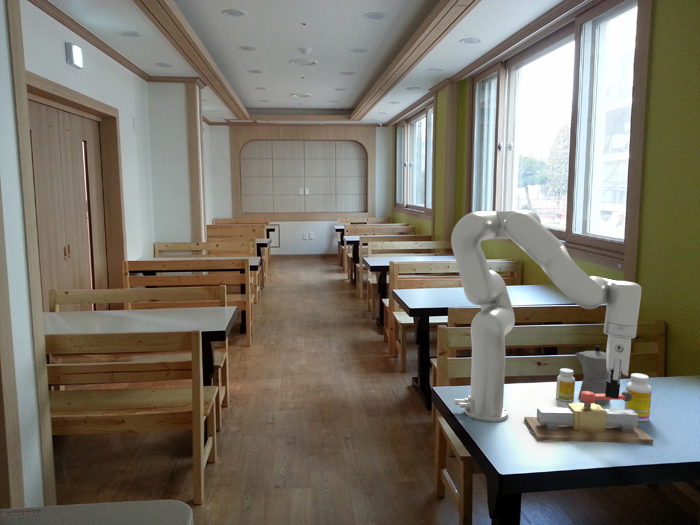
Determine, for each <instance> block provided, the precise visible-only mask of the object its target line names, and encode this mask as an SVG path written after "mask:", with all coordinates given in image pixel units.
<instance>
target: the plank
mask: <svg viewBox="0 0 700 525" xmlns="http://www.w3.org/2000/svg"><path fill="white" fill-rule="evenodd" d="M523 418H524V419H523V421H524V423H525V424H526V426H527V428H528V429H529V430H530V432H531V433H532V435H533V436H534V437H535V439H536V440H537V441H539V442H569V443H570V442H572V443H573V442H575V443H606V444H607V443H608V444H609V443H610V444H612V443H613V444H637V443H639V444H642V445H644V444H645V445H647V444H649V445H653V444H654V439H653V438H652V437H651V436H650V435H649V434H647V433H646V432H645V430H643V429H642V428H640V426H639V425H638V426H637V428H635V427H634V433H633V434H632V433H621V432H620V431H619V430H618V429H617V428H616V427H606V431H603V433H586V432H578V431H577V430H573V428H572V427H571V426H562V425H559V430H558V431H547V430H546V429H545V428H544V426H543V425H540V424H539V422H538V421H537V416H524V417H523Z"/></svg>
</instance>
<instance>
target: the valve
mask: <svg viewBox="0 0 700 525" xmlns="http://www.w3.org/2000/svg"><path fill="white" fill-rule="evenodd" d="M624 409H625V408H622V409H618V408H617V409H616V408H612V409H611V408H603V407H602V406H600V405H597V404H594V403H591V407H590V408H587V407H584V402H571V403H568V404H567V407H546V406H545V407H543V406H542V407H540V406H539V407H536V417H537V421H538V422H539V424H540V425H543V426H544V428H545V429H546V430H547V431H558V430H559V425H562V426H571V427H572V428H573V430H577V431H578V432H586V433H603V431H606V427H616V428H617V429H618V430H619V431H620V432H621V433H632V434H633V433H634V427H635V428H637V426H638V427H639V425H638V424H639V421H638V414H637V413H635V412H634V411H633V410H624Z"/></svg>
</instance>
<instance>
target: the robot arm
mask: <svg viewBox="0 0 700 525" xmlns="http://www.w3.org/2000/svg"><path fill="white" fill-rule="evenodd" d="M451 232H452V233H451V236H450V237H451V238H450V239H451V240H450V243H451V248H452V252H453V256H454V259H455V262H456V265H457V271H458V274H459V277H460V280H461V284H462V288H463V291H464V296H465V297H466V299H467V301H468V302H469V303H470V304H472V305H474V306H479V307H480V309H481V310H480V311H479V312H477V313H476V314H475V315H474V317H473V319H472V321H471V325H470V336H471V368H470V369H471V370H470V371H471V372H470V394H468V395H467V397H464V398H453V405H454V406H459V408H460V409H461V408H463V409H464V413H465V415H466V416H468V417H470V419H471V418H472V419H473V420H474V419H475V420H477V421H482V422H490V423H491V422H493V423H494V422H501V421H504V420H506V419H507V418H508V417H509V411H508V410H507V408H505V407H504V394H505V393H504V392H505V390H504V389H505V373H506V346H505V345H506V344H505V336H506V335H507V334H509V333H510V332H511V331H512V330H513V328H514V326H515V322H516V319H515V318H516V317H515V313H514V309H513V306H512V301H511V299H510V294H509V291H508V288H507V286H506V285H507V284H506V282H505V280H504V279H503V277H502V276H501V275H500V273H498V272H496V271H495V270H490V268H489V265H488V261H487V258H486V255H485V252H484V251H483V249H482V245H481V244H482V243H481V242H483V241H488V240H511V241H512V242H513V243H515V245H517V246H518V248H520V249H521V250H522V251H523V252H524V253H525V254H527V256H529V257H530V258H531V259H532V260H533V261H534V262H535V263H536V264H537V265H538V266H540V268H541V269H542V271H543V272H544V273H545V275H546V276H547V277H548V278H549V279H550V281H552V282H551V283H553V284H554V286H556V287H557V288H558V290H560V291H561V292H562V293H563V294H565V295H566V297H568V299H569V300H571V301H572V302H573V303H574V304H576V305H577V306H578V307H581V308H583V309H585V310H593V309H596V308H598V307H599V306H601V305H606V310H605V317H604V318H605V319H604V325H603V334H605V335H607V340H606V341H607V342H606V352H605V353H606V368H607V372H608V377H607V381H606V389H605V396H606V397H610V398H616V399H618V398H619V393H620V391H621V379H622V377H621V371H622V373H623V375H624V377H628V376H629V369H630V360H631V359H630V357H631V348H632V346H631V345H632V339H635V338H636V337H637V329H638V321H639V315H640V314H639V313H640V304H641V298H642V291H643V290H642V286H641V285H640V284H638V283H636V282H633V281H627V280H613V279H608V278H606V277H602V276H597V275H596V276H595V275H591V276H589V275H588V274H587V273H586V272H585V271H584V270H583V269H582V268H580V267H579V266H578V265H577V263H575V261H574V260H573V259H572V258H571V256H570V255H569V252H568V250H567V248H566V246H565V244H564V243H563V242H562V241H561V240H560V239H559V238H558V237H556V236H555V235H554V234H553V233H552V232H551V231H550V230H549V229H547V228H546V227H545V226H544V225H543V224H542V222H541V218H540V217H539V215H538V214H537V213H536V212H534V211H532V210H529V209H518V210H487V211H485V210H483V211H482V210H481V211H472V212H470V213H468V214H466V215H464V216H462V217H461V218H460V219H459V220H458V221H457V222H456V224H455V226H454V227H453V230H452V231H451ZM623 375H622V376H623ZM620 378H621V379H620Z"/></svg>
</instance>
